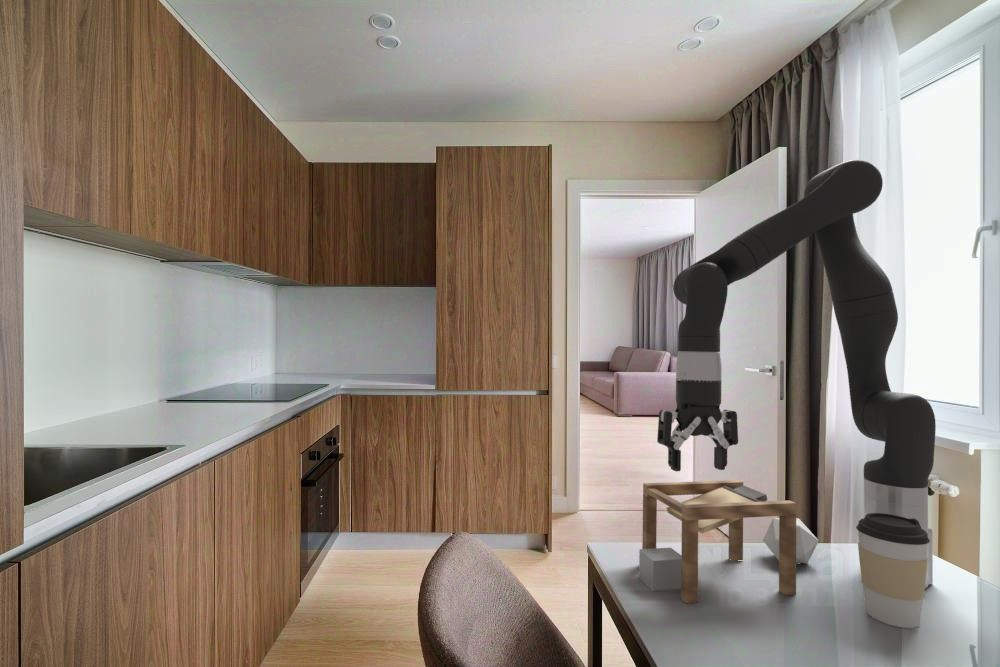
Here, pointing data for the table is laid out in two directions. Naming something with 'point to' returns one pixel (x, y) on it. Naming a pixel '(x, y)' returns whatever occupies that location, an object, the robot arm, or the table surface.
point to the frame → (718, 511)
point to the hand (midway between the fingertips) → (697, 469)
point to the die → (803, 540)
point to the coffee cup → (893, 568)
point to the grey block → (660, 568)
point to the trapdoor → (721, 496)
